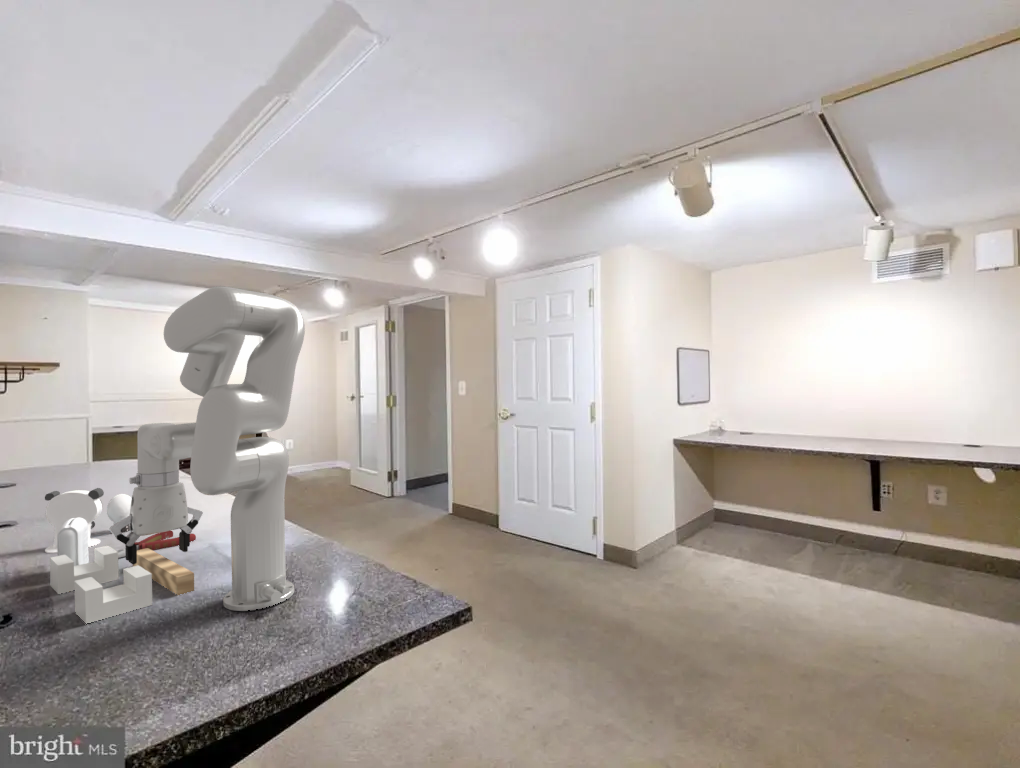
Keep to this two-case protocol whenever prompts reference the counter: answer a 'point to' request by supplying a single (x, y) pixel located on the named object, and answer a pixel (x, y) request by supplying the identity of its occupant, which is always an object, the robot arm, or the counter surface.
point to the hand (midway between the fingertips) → (158, 556)
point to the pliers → (157, 542)
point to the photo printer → (74, 540)
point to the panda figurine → (73, 510)
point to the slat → (166, 571)
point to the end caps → (89, 592)
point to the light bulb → (119, 509)
